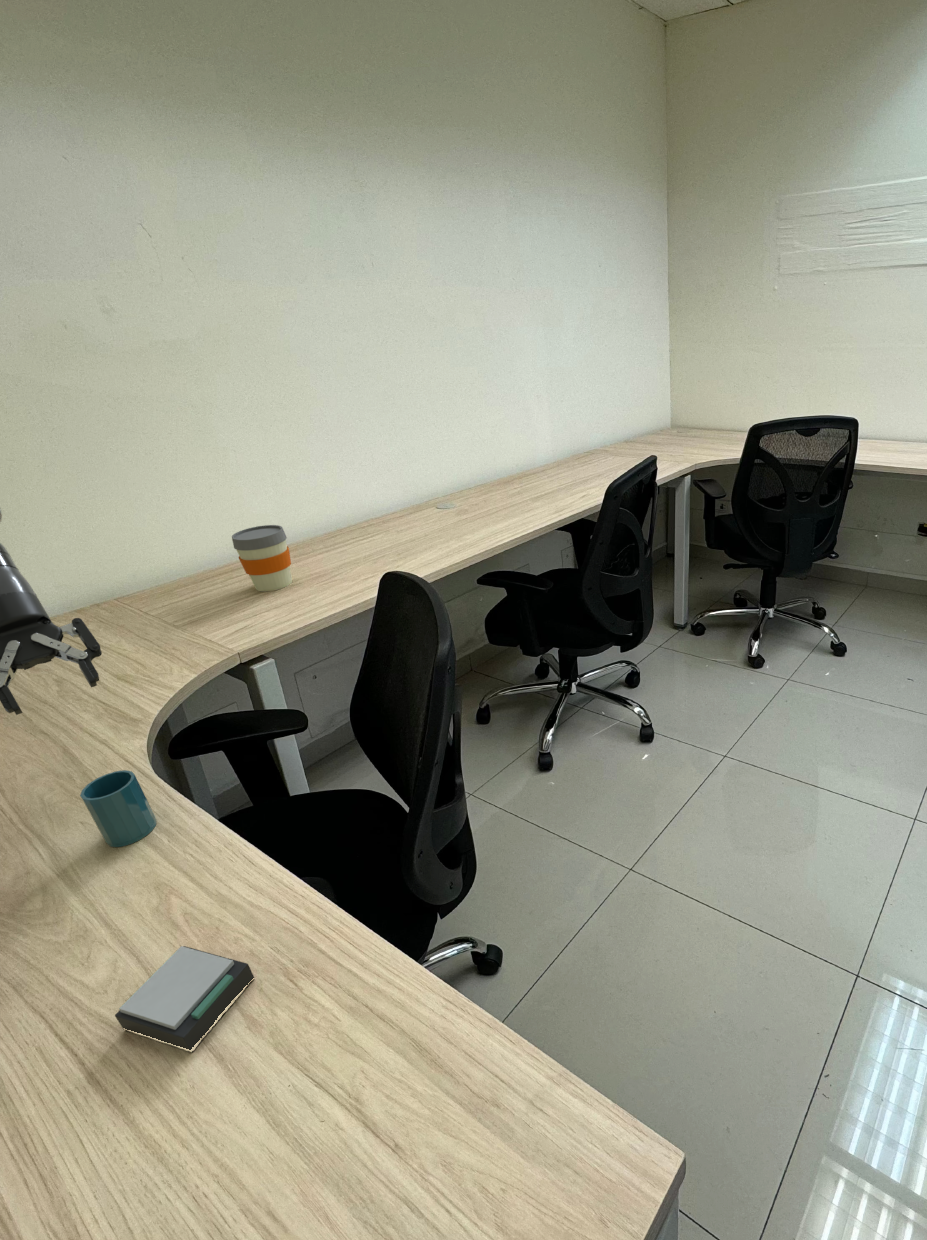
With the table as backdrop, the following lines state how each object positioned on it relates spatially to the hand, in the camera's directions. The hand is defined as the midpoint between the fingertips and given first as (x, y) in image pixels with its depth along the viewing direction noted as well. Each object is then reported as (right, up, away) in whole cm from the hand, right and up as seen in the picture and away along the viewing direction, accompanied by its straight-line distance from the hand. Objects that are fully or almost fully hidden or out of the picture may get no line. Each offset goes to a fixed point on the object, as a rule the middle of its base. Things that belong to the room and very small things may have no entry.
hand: (57, 697), depth 91 cm
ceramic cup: (+10, -19, +1) cm, 21 cm away
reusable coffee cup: (-16, +19, +84) cm, 88 cm away
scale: (+35, -29, -23) cm, 51 cm away
